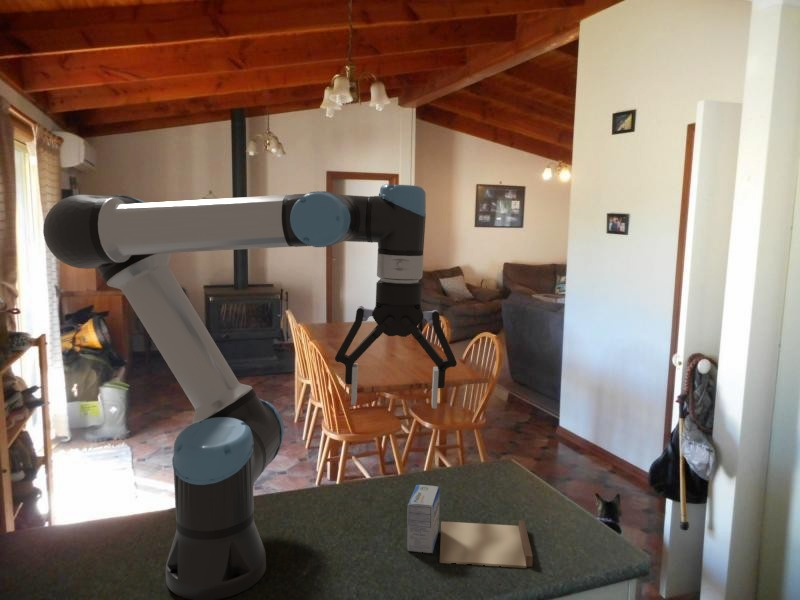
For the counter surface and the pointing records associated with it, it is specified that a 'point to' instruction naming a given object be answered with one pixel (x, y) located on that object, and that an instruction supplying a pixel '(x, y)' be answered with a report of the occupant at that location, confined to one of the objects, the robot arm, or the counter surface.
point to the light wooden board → (481, 544)
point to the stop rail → (525, 543)
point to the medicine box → (423, 519)
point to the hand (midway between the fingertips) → (393, 404)
